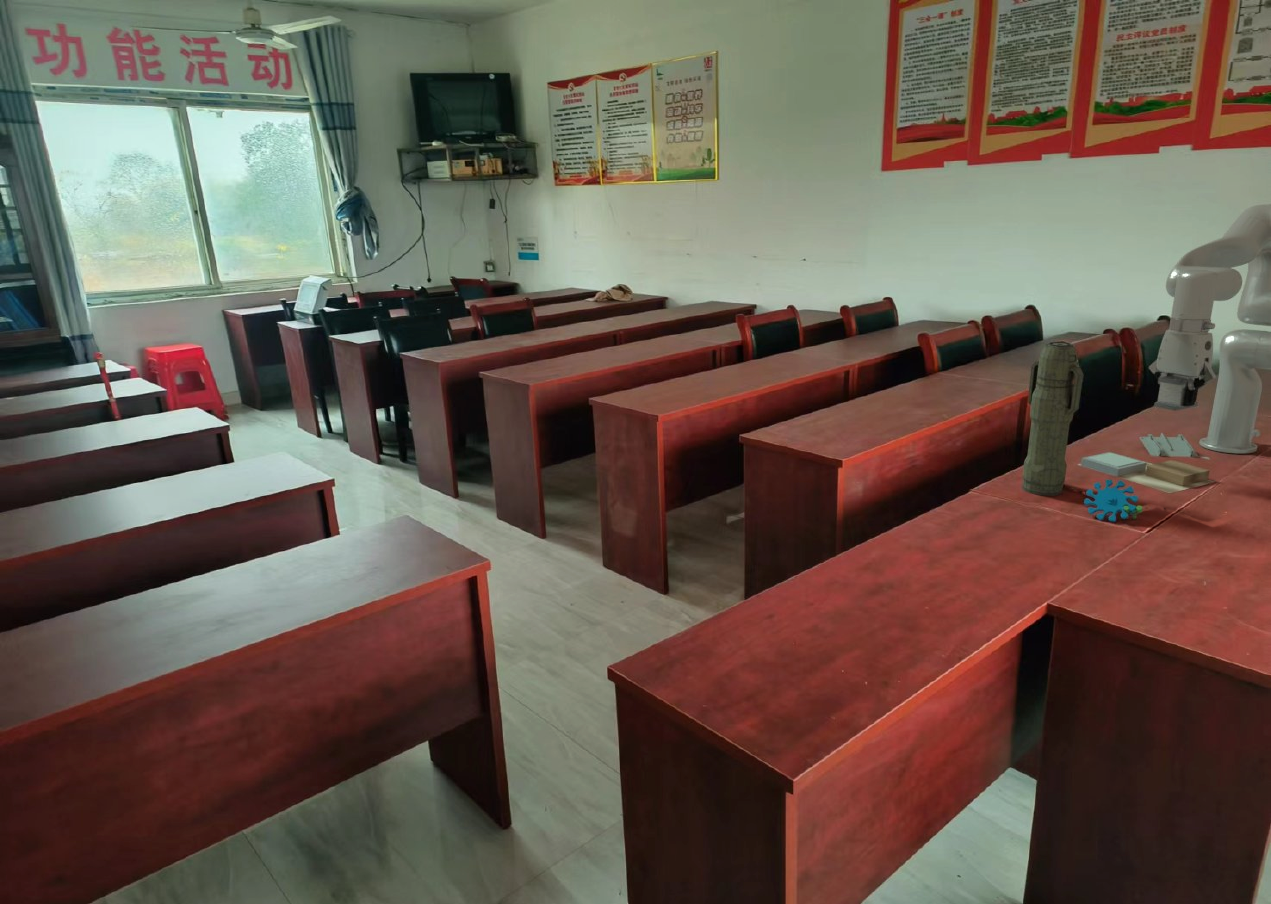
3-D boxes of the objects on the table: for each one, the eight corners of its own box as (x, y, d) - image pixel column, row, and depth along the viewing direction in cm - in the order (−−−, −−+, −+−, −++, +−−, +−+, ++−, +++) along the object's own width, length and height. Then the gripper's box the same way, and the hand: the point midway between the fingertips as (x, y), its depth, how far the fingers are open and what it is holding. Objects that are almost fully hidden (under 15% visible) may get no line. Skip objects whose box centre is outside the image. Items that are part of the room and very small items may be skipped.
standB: (1108, 459, 205) (1109, 451, 204) (1145, 470, 196) (1146, 461, 196) (1080, 465, 201) (1081, 457, 201) (1117, 476, 193) (1118, 468, 192)
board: (1120, 458, 208) (1121, 454, 208) (1214, 485, 187) (1215, 481, 187) (1076, 468, 203) (1077, 464, 202) (1169, 497, 181) (1169, 493, 181)
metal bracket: (1131, 429, 214) (1193, 430, 211) (1126, 447, 217) (1187, 448, 215) (1151, 459, 203) (1216, 460, 200) (1145, 477, 206) (1209, 479, 203)
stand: (1170, 469, 196) (1172, 460, 195) (1207, 480, 188) (1209, 470, 187) (1145, 475, 193) (1147, 465, 192) (1182, 486, 185) (1184, 476, 184)
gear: (1074, 507, 173) (1098, 471, 175) (1078, 519, 178) (1101, 483, 179) (1128, 528, 166) (1152, 490, 167) (1130, 540, 170) (1154, 503, 171)
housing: (1175, 401, 191) (1180, 373, 188) (1197, 406, 186) (1202, 376, 184) (1154, 406, 187) (1158, 377, 185) (1175, 410, 183) (1180, 381, 181)
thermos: (1057, 500, 182) (1076, 349, 172) (1008, 487, 191) (1024, 343, 181) (1077, 491, 187) (1097, 344, 176) (1028, 479, 196) (1045, 338, 186)
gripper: (1239, 328, 175) (1224, 408, 181) (1162, 320, 190) (1151, 394, 196) (1218, 332, 172) (1203, 413, 178) (1142, 323, 187) (1130, 398, 193)
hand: (1176, 402), depth 187 cm, fingers closed on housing, 5 cm apart
